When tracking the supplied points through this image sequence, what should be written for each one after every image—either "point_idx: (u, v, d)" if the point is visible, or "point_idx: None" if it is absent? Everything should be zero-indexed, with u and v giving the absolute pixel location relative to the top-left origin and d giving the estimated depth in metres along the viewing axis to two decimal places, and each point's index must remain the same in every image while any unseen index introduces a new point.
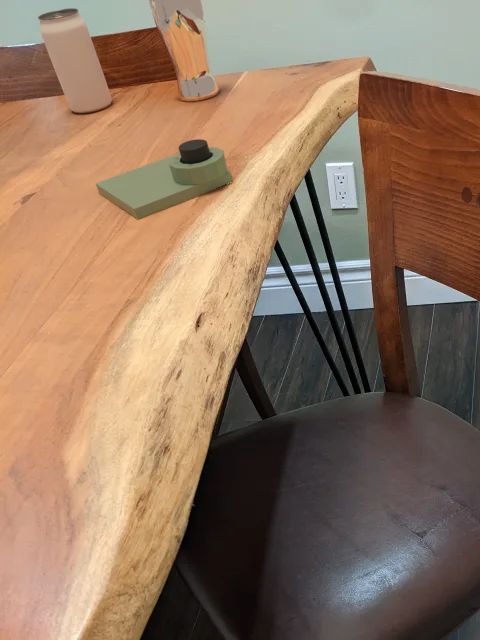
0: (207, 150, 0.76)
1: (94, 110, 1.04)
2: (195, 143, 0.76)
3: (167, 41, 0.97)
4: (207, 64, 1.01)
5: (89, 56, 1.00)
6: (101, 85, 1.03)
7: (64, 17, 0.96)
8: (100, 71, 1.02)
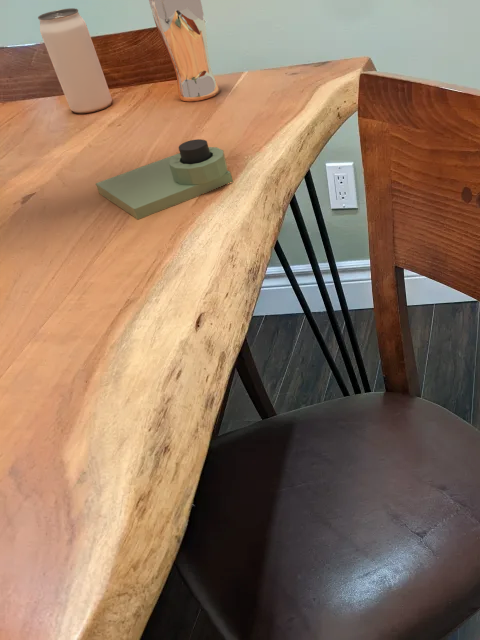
0: (207, 150, 0.76)
1: (94, 110, 1.04)
2: (195, 143, 0.76)
3: (167, 41, 0.97)
4: (207, 64, 1.01)
5: (89, 56, 1.00)
6: (101, 85, 1.03)
7: (64, 17, 0.96)
8: (100, 71, 1.02)
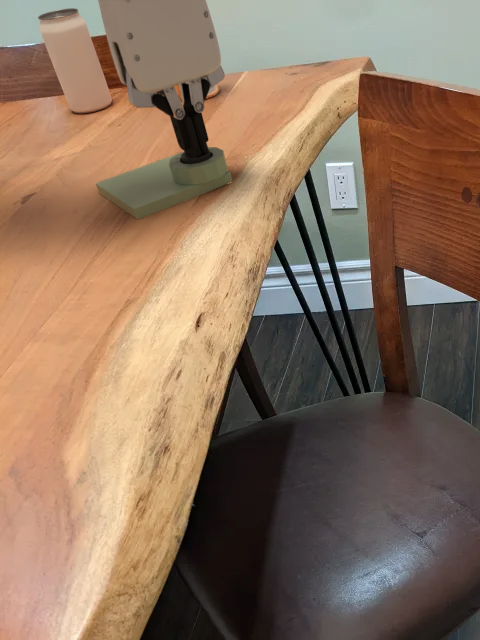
0: (209, 158, 0.77)
1: (94, 110, 1.04)
2: None
3: None
4: None
5: (89, 56, 1.00)
6: (101, 85, 1.03)
7: (64, 17, 0.96)
8: (100, 71, 1.02)
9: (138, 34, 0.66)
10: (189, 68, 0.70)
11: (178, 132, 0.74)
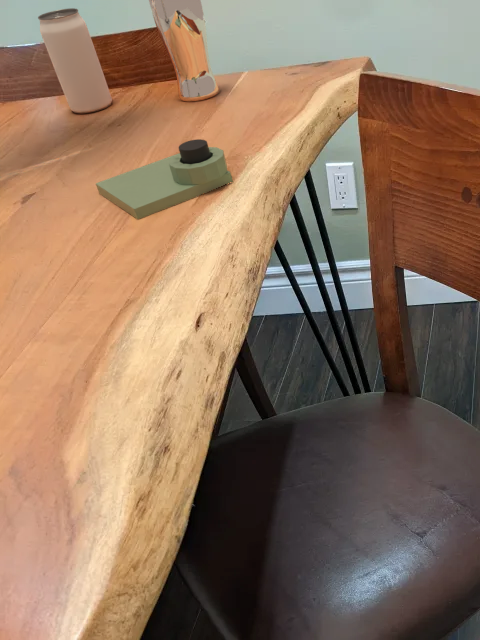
0: (207, 150, 0.76)
1: (94, 110, 1.04)
2: (195, 143, 0.76)
3: (167, 41, 0.97)
4: (207, 64, 1.01)
5: (89, 56, 1.00)
6: (101, 85, 1.03)
7: (64, 17, 0.96)
8: (100, 71, 1.02)
9: None
10: None
11: None
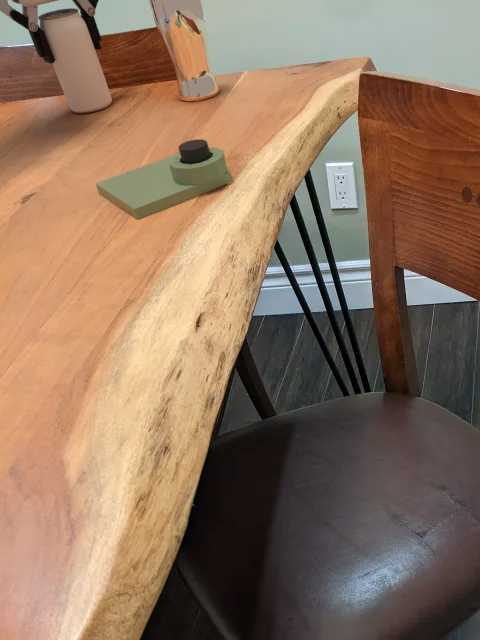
0: (207, 150, 0.76)
1: (94, 110, 1.04)
2: (195, 143, 0.76)
3: (167, 41, 0.97)
4: (207, 64, 1.01)
5: (89, 56, 1.00)
6: (101, 85, 1.03)
7: (64, 17, 0.96)
8: (100, 71, 1.02)
9: None
10: None
11: (35, 42, 0.97)
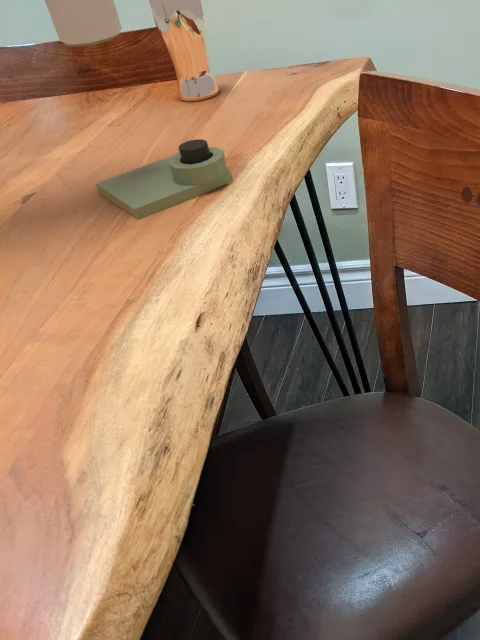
0: (207, 150, 0.76)
1: (96, 41, 0.70)
2: (195, 143, 0.76)
3: (167, 41, 0.97)
4: (207, 64, 1.01)
5: None
6: (106, 2, 0.69)
7: None
8: None
9: None
10: None
11: None
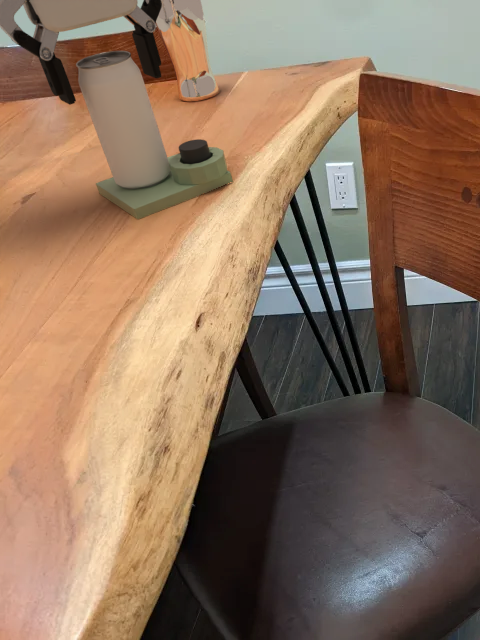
0: (207, 150, 0.76)
1: (148, 185, 0.77)
2: (195, 143, 0.76)
3: (167, 41, 0.97)
4: (207, 64, 1.01)
5: (144, 115, 0.73)
6: (159, 152, 0.76)
7: (113, 64, 0.69)
8: (157, 134, 0.76)
9: None
10: (101, 7, 0.67)
11: (48, 75, 0.68)
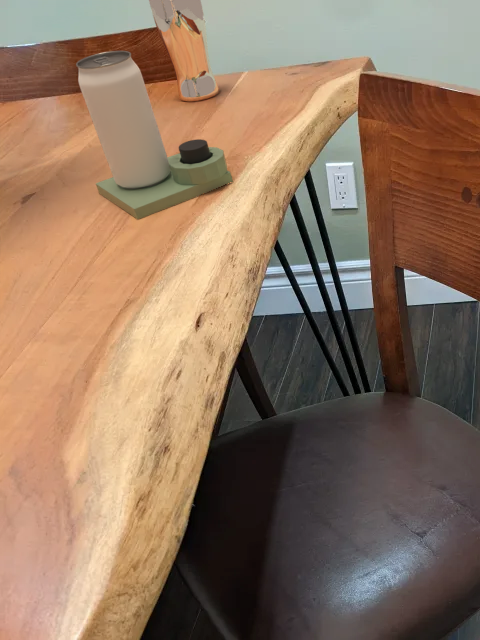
0: (207, 150, 0.76)
1: (148, 185, 0.77)
2: (195, 143, 0.76)
3: (167, 41, 0.97)
4: (207, 64, 1.01)
5: (145, 115, 0.73)
6: (159, 152, 0.76)
7: (113, 64, 0.69)
8: (157, 134, 0.76)
9: None
10: None
11: None
